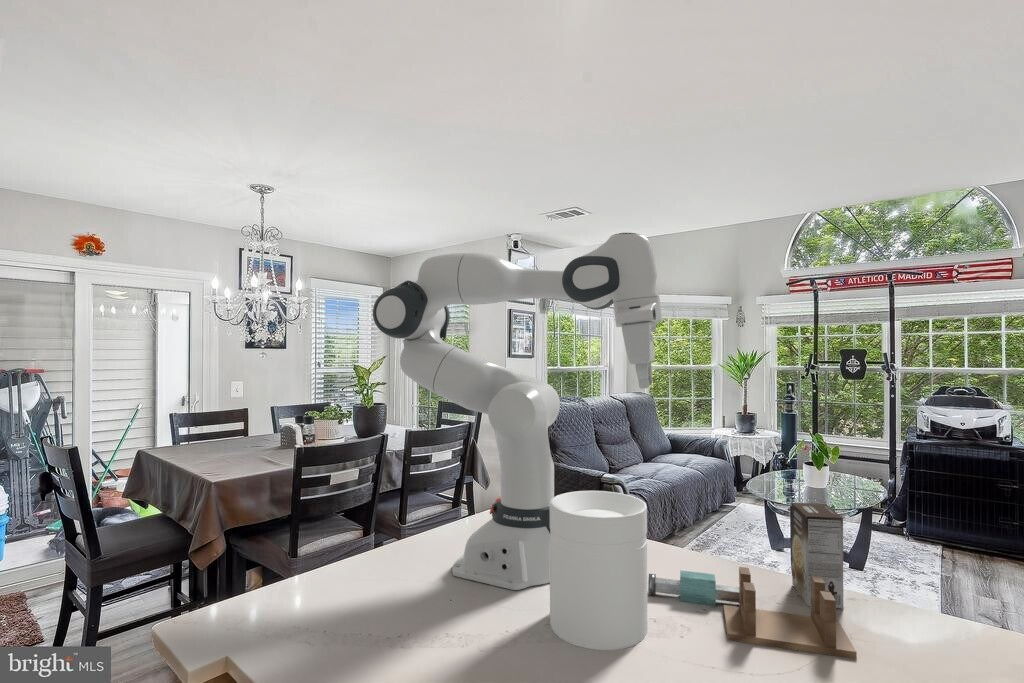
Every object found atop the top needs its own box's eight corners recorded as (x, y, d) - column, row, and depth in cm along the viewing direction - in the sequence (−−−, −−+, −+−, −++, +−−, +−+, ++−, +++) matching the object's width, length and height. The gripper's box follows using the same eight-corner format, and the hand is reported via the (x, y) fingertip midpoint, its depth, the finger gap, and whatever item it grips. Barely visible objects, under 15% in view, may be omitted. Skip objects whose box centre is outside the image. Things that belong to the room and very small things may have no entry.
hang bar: (648, 597, 100) (648, 573, 100) (649, 589, 103) (649, 566, 103) (750, 611, 95) (749, 585, 95) (747, 601, 98) (747, 577, 98)
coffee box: (790, 584, 105) (789, 501, 106) (826, 587, 104) (825, 503, 104) (806, 606, 96) (805, 515, 97) (846, 609, 95) (845, 517, 95)
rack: (728, 639, 85) (727, 588, 85) (723, 610, 95) (723, 564, 95) (856, 658, 80) (855, 603, 80) (838, 625, 89) (837, 576, 90)
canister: (651, 609, 95) (651, 495, 96) (642, 658, 80) (641, 522, 80) (562, 596, 100) (562, 487, 101) (538, 639, 85) (538, 511, 86)
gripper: (626, 320, 116) (634, 384, 116) (615, 314, 97) (624, 391, 96) (657, 316, 115) (664, 381, 114) (651, 309, 95) (660, 388, 94)
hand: (646, 386), depth 105 cm, fingers open, 8 cm apart
